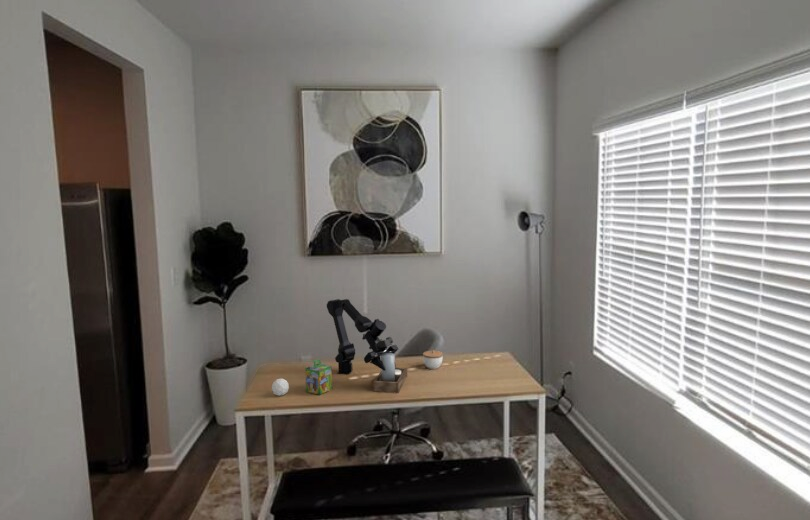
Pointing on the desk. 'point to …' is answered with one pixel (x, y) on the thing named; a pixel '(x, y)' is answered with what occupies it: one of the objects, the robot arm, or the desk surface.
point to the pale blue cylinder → (388, 367)
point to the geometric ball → (280, 387)
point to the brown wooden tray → (391, 386)
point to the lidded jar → (432, 359)
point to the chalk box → (318, 378)
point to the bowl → (397, 371)
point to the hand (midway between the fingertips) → (390, 368)
